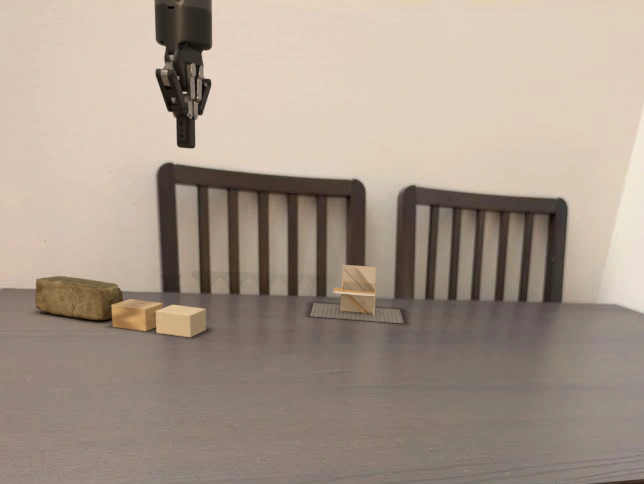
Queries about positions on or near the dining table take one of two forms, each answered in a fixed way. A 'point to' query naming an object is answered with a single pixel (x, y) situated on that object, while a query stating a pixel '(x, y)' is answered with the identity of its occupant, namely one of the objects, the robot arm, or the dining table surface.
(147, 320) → the birch block
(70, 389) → the dining table surface
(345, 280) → the architectural model
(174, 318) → the cream block
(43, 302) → the stone block
